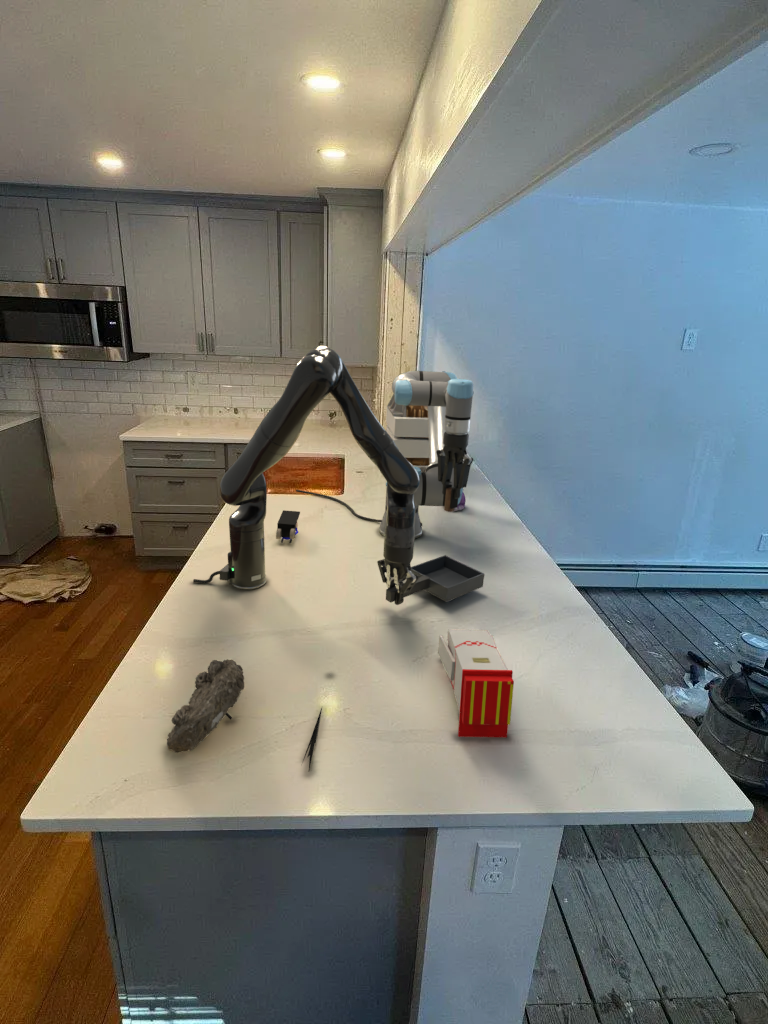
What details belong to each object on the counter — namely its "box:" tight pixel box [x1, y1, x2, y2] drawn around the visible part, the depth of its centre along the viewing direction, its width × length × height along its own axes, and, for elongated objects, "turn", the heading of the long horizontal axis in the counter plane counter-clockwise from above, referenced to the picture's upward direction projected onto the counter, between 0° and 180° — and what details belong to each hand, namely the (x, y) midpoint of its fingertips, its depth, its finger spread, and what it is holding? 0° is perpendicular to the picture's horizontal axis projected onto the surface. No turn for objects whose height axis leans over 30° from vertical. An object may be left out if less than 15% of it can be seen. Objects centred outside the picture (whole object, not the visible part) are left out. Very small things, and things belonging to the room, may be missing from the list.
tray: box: [385, 554, 485, 603], centre depth 154 cm, size 29×15×4 cm, turn 131°
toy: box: [437, 628, 515, 738], centre depth 117 cm, size 12×13×30 cm
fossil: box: [166, 658, 245, 754], centre depth 106 cm, size 22×10×15 cm
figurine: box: [453, 491, 467, 512], centre depth 226 cm, size 9×10×15 cm
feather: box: [301, 673, 332, 771], centre depth 108 cm, size 2×28×2 cm
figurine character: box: [275, 509, 301, 544], centre depth 191 cm, size 7×8×15 cm
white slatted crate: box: [385, 393, 430, 467], centre depth 268 cm, size 34×33×41 cm
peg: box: [443, 487, 455, 513], centre depth 177 cm, size 3×3×7 cm
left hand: (395, 601), depth 147 cm, fingers closed on tray, 2 cm apart
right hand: (449, 506), depth 178 cm, fingers closed on peg, 2 cm apart
